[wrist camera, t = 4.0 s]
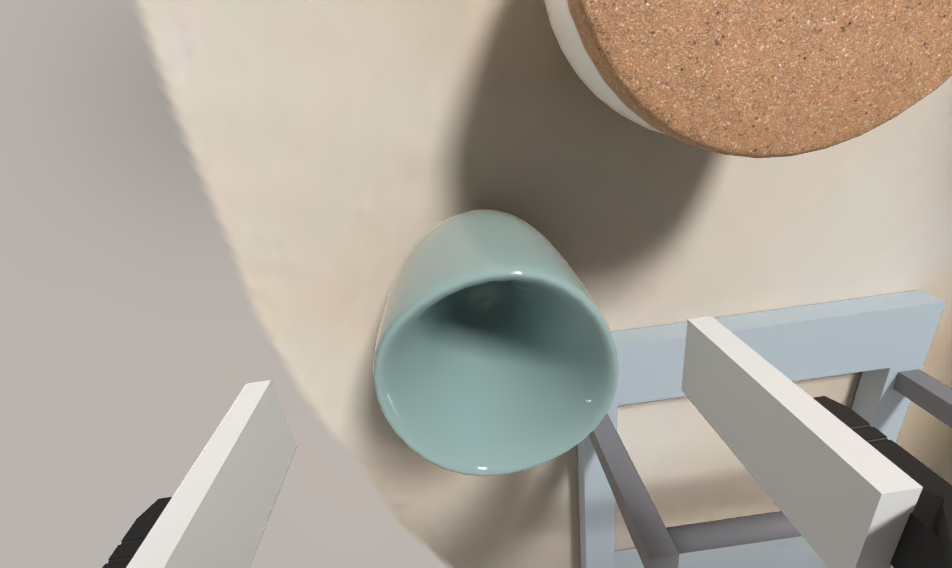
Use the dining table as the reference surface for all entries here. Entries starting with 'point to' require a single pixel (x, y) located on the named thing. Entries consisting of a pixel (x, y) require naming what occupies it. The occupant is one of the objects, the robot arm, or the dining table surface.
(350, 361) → the dining table surface
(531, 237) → the cup
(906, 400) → the towel rail frame
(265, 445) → the robot arm
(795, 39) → the lidded bowl
